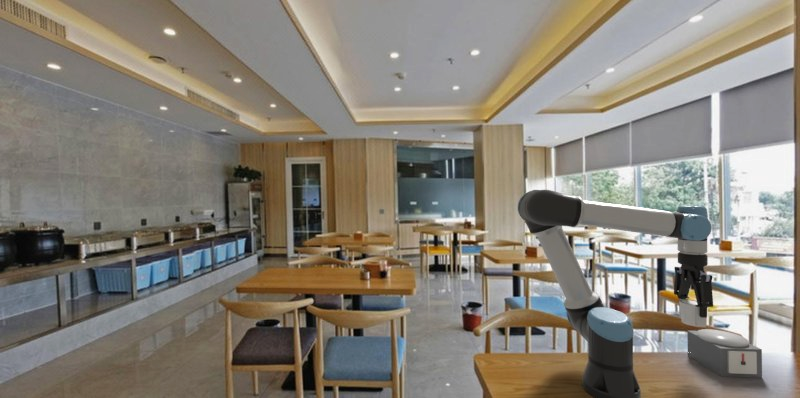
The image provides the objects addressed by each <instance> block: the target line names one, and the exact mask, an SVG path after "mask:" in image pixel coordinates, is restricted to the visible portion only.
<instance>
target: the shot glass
mask: <svg viewBox="0 0 800 398" xmlns="http://www.w3.org/2000/svg"><path fill="white" fill-rule="evenodd" d="M701 303H702V302H701ZM679 304H680V312H681V321H680V322H681V323H682V324H684V325H687V326H691V327H696V326H695V305H698V304H697V300H695V299H689V300H679V299H678V305H679Z"/></svg>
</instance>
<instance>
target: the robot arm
mask: <svg viewBox="0 0 800 398" xmlns="http://www.w3.org/2000/svg"><path fill="white" fill-rule="evenodd" d="M676 210H677V211H670V210H669V211H667V210H661V209H654V208H653V209H652V208H645V207H637V206H629V205H622V204H615V203H606V202H599V201H593V200H592V201H591V200H585V199H582V198H581V197H580V196H578V195H572V194H567V193H562V192H558V191H555V190H550V189H533V190H529V191H528V192H526V193H524V194H523V195H522V196H521V197H520V198H519V199H518V203H517V212H518V215H519V216H520V217H521V219H522V220H523V221H524V222H525V224H526V226H527V229H528V230H529V232H530V234H531V235H533V236H536V237H537V239H538V241H539V244H540V246H541V248H542V249H543V252H544V255H545V256H546V259H547V261H548V263H549V265H550V267H551V269H552V272H553V273H554V276H555V278H556V280H557V282H558V285H559V286H560V289H561V291H562V293H563V296H564V298H565V300H564V301H563V306H564V309H565V311H566V318H567V320H568V323H569V325H570V326H571V327H572V328H573V329H574V330H575V331H576V332H577V333H579V335H580V336H581V337H582V338H583V339H585V341H586V342H587V352H588V353H587V354H588V355H587V357H588V358H587V363H586V366H585V369H584V372H583V374H582V378H581V381H582V382H581V383H582V387H584V388H583V389H584V391H585V392H587V394H589V395H591V397H594V398H642V396H641V395H642V391H641V388H640V384H639V381H638V379H637V377H636V374H635V371H634V327H633V322H632V319H631V318H630V317H629V316H628V315H627V314H625V313H624V312H622V311H619V310H615V309H614V308H611V307H610V308H609V307H606V306H604V304H603V300H602V299H601V296H600V295H599V293H597V292H595V291H593V290H592V289H591V287H590V285H589V283H588V281H587V279H586V276H585V274H584V272H583V269H582V268H581V265H580V263H579V262H578V259H577V257H576V256H575V253H574V251H573V249H572V247H571V244H570V242H569V239H568V238H567V235H566V234H565V231H564V229H563V227H570V228H576V227H577V226H586V227H595V228H600V229H601V228H602V229H610V230H617V231H625V232H630V233H638V234H643V235H649V236H653V235H654V236H662V237H668V238H674V239H677V251H678V252H677V263H678V264H679V265H680V266H674V269H673V270H674V284H673V287H674V288H673V294H674V295H675V296H677V298H678V301H679V300H690V296H689V293H690V290H691V287H693V292H694V295H695V299H696V300H695V301H697V304H698V305H695V326H694V327H696V328H707V318H708V308H713V307H714V297H713V285H712V281H713V275H712V274H707V273H706V271H705V267H706V266H708V264H709V263H708V261H709V260H708V259H709V258H708V257H709V256H708V255H707V253H708V237H709V236H710V235H711V232H712V223H711V222H710V220H709V218H708V209H707V208H706V207H705V206H701V205H680V206H678V207H677V209H676ZM701 302H702V303H701ZM678 313H679V314H678V318H679V319H681V312H680V304H679V303H678Z"/></svg>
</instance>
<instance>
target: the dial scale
mask: <svg viewBox="0 0 800 398" xmlns="http://www.w3.org/2000/svg"><path fill="white" fill-rule="evenodd" d="M686 331H687V355H688V356H689V357H690V358H692V359H693V360H695V361H696V362H698V363H700V364H702V366H704V367H706V368H707V369H709V370H710V371H712V372H714V373H715V374H717V375H718V376H720V377H731V378H733V377H735V378H758V379H759V378H760V377H761V378H763V353H762V352H763V351H762V348H759V347H758V346H755V345H753V344H751V343H750V341H749V339H748V338H746V337H744V336H742V335H739V334H736V333H732V332H730V331H725V330H720V329H712V328H705V329H703V328H702V329H698V330H686ZM688 352H689V353H688ZM690 352H691V353H690Z"/></svg>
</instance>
